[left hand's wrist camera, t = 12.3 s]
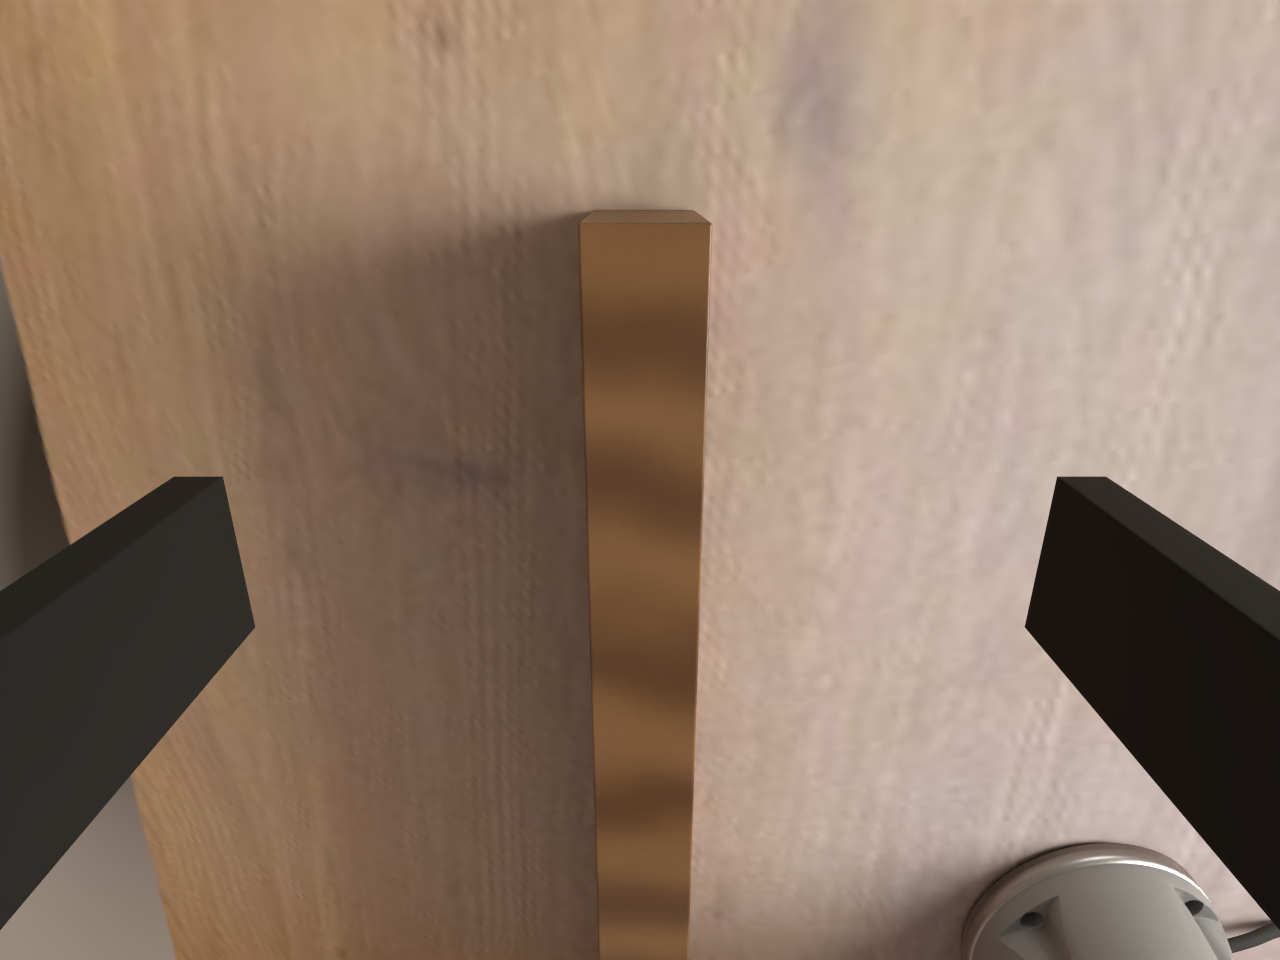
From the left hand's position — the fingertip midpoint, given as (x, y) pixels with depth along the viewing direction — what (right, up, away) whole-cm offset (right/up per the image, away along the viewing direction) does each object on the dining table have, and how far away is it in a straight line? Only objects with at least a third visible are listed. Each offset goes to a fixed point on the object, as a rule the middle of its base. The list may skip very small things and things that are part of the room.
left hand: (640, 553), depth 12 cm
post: (0, -15, +33) cm, 36 cm away
